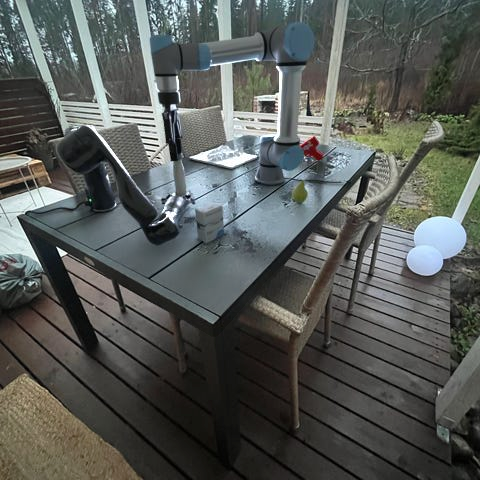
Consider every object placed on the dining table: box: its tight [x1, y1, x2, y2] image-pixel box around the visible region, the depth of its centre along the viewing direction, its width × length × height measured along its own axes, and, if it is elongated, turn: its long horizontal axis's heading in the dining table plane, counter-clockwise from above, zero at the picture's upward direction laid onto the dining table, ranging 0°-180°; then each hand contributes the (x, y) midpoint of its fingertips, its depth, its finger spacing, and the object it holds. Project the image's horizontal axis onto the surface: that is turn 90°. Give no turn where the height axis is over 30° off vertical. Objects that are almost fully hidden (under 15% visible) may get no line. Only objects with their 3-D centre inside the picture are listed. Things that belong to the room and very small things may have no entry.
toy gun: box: [300, 135, 324, 163], centre depth 172 cm, size 18×4×15 cm
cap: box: [177, 151, 183, 161], centre depth 105 cm, size 4×4×2 cm
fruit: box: [291, 174, 311, 204], centre depth 118 cm, size 7×8×12 cm
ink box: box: [194, 201, 225, 244], centre depth 94 cm, size 8×5×12 cm, turn 135°
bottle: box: [172, 159, 190, 211], centre depth 111 cm, size 4×4×23 cm
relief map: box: [189, 144, 258, 170], centre depth 177 cm, size 27×35×5 cm
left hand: (182, 191), depth 116 cm, fingers closed on bottle, 4 cm apart
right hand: (176, 158), depth 106 cm, fingers open, 6 cm apart
